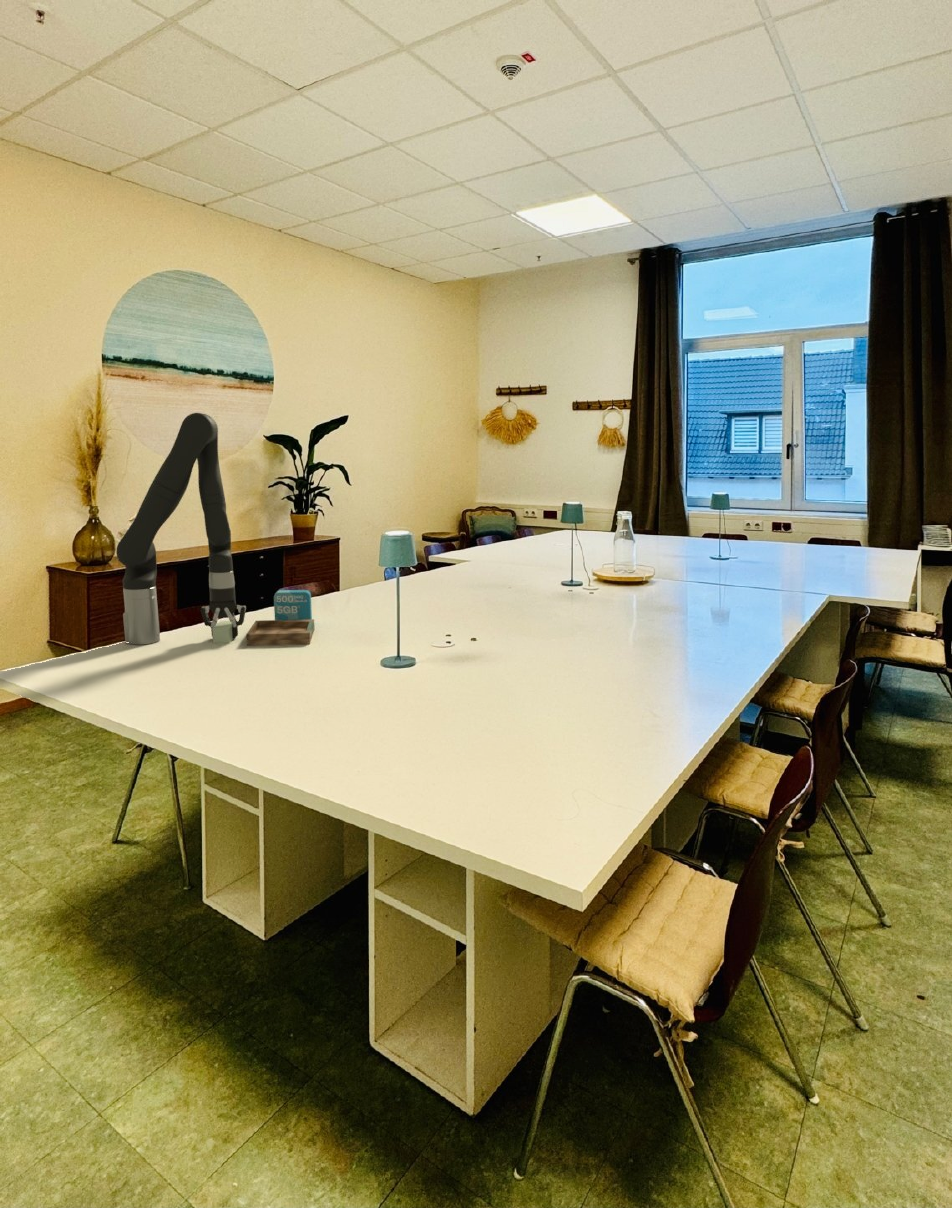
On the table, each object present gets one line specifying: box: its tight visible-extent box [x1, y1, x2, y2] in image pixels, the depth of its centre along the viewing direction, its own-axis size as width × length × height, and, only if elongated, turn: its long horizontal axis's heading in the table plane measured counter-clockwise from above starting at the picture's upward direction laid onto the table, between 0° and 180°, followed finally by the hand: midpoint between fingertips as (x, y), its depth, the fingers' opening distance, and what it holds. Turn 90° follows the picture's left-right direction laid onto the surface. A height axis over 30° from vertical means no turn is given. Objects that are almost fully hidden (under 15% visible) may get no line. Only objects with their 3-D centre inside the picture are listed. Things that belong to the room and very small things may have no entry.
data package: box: [273, 589, 313, 620], centre depth 250 cm, size 12×4×12 cm, turn 97°
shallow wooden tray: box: [246, 618, 315, 647], centre depth 234 cm, size 19×20×4 cm
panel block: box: [211, 620, 234, 644], centre depth 230 cm, size 5×10×5 cm, turn 6°
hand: (225, 637), depth 231 cm, fingers closed on panel block, 5 cm apart
